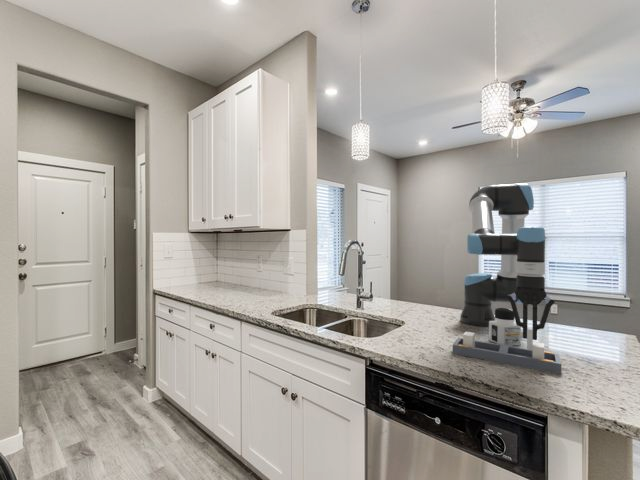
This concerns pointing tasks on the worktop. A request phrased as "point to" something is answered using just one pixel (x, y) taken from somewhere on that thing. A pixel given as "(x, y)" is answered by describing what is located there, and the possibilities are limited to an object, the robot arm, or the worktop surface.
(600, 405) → the worktop surface
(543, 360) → the tray
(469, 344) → the tab
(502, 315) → the container
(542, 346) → the tab
